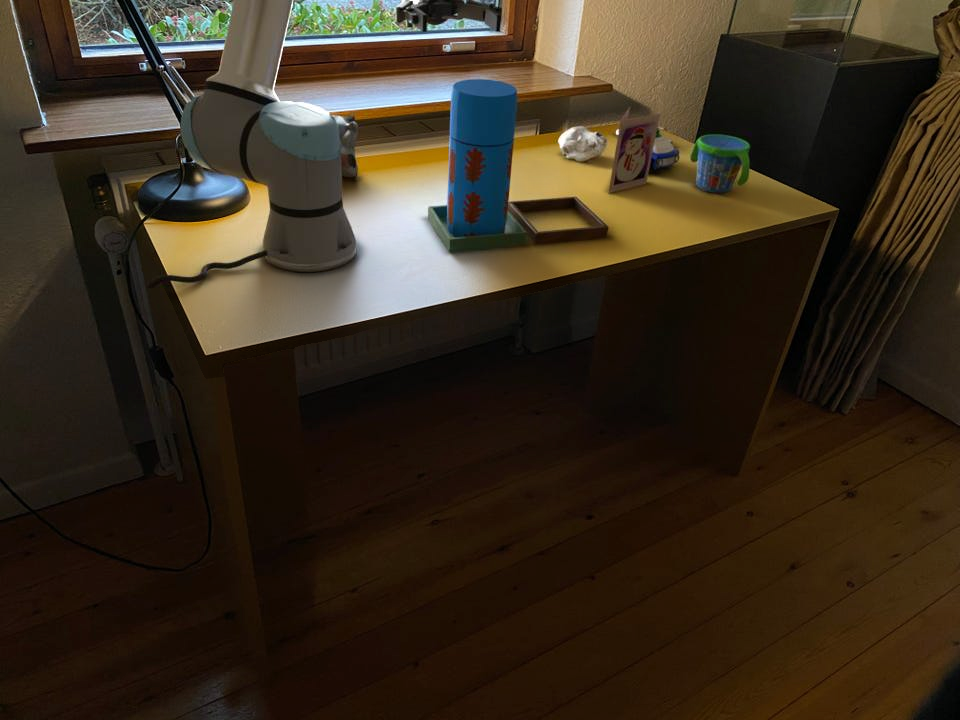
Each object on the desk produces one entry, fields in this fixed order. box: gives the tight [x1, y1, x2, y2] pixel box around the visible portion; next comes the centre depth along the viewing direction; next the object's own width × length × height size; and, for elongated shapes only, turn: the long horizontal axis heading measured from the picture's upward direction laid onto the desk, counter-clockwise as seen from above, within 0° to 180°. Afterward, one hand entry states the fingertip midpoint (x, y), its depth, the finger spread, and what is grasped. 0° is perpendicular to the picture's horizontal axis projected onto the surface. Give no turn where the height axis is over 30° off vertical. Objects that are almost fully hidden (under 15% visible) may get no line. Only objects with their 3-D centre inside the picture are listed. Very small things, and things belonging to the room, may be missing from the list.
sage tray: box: [427, 204, 528, 253], centre depth 133 cm, size 14×14×2 cm
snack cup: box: [689, 133, 751, 194], centre depth 156 cm, size 16×10×10 cm
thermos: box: [446, 78, 518, 237], centre depth 127 cm, size 11×11×25 cm
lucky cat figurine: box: [332, 113, 359, 180], centre depth 149 cm, size 15×12×14 cm
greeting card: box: [608, 106, 661, 194], centre depth 154 cm, size 11×7×15 cm, turn 126°
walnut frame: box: [508, 196, 610, 245], centre depth 138 cm, size 14×14×2 cm
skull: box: [557, 125, 608, 163], centre depth 168 cm, size 8×9×12 cm
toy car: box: [648, 125, 681, 173], centre depth 166 cm, size 9×12×10 cm
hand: (462, 23), depth 129 cm, fingers open, 13 cm apart
